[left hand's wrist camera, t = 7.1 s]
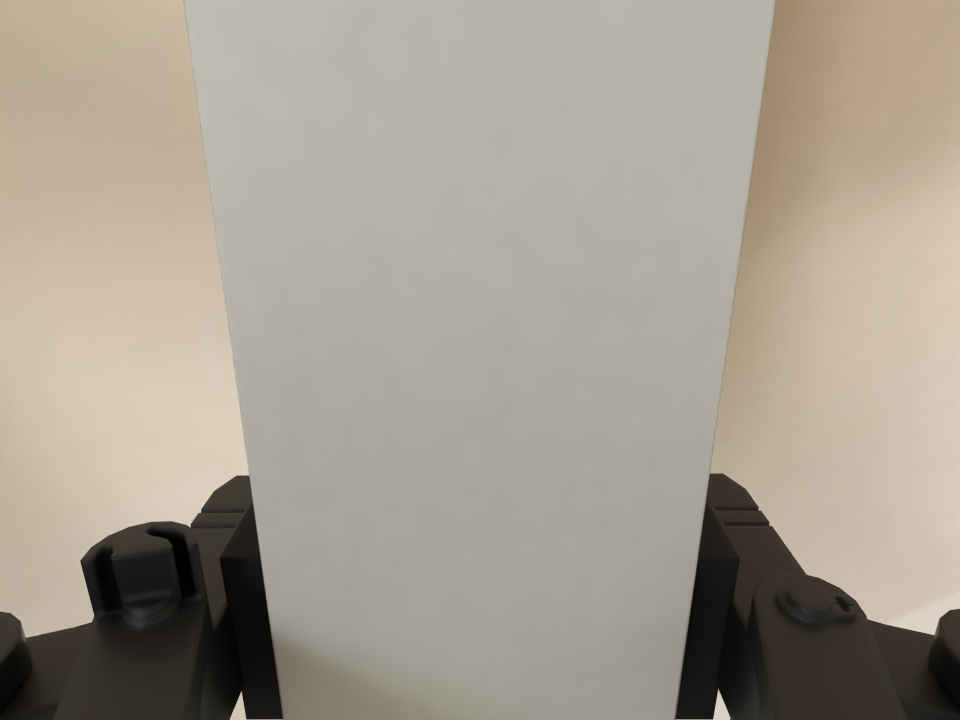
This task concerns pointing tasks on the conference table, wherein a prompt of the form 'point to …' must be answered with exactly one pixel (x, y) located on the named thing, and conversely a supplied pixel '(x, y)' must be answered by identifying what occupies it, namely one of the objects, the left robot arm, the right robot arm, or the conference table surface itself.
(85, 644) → the left robot arm
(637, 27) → the bar
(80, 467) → the conference table surface
